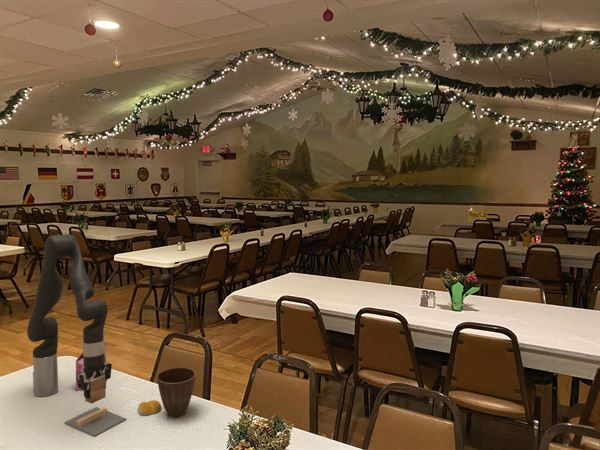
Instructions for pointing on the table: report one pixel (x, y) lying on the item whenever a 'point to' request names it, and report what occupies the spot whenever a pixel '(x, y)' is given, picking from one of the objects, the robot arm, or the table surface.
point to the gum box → (81, 367)
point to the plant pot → (176, 390)
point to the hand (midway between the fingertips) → (95, 394)
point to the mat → (95, 421)
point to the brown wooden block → (96, 389)
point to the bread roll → (149, 407)
